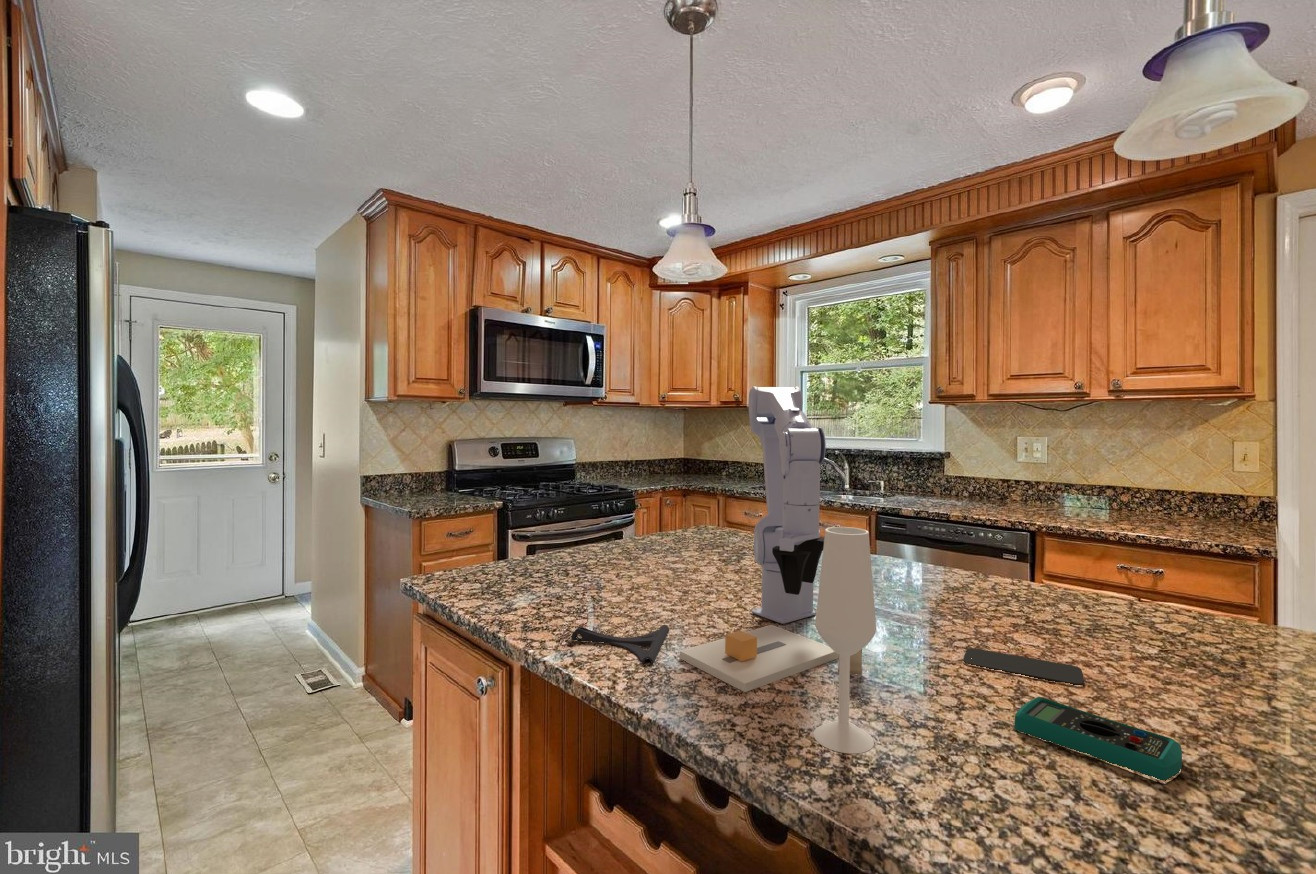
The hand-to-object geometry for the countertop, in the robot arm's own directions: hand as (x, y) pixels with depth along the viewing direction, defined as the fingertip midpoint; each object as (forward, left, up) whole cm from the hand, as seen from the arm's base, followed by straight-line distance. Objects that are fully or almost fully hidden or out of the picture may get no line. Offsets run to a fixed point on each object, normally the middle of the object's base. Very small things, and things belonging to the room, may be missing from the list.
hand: (799, 587), depth 99 cm
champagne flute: (+18, +22, -10) cm, 30 cm away
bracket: (+23, -18, -10) cm, 31 cm away
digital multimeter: (-4, +40, -10) cm, 41 cm away
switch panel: (+9, 0, -9) cm, 13 cm away
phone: (-20, +25, -10) cm, 34 cm away
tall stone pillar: (+1, +11, -9) cm, 14 cm away
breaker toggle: (+13, 0, -8) cm, 15 cm away
